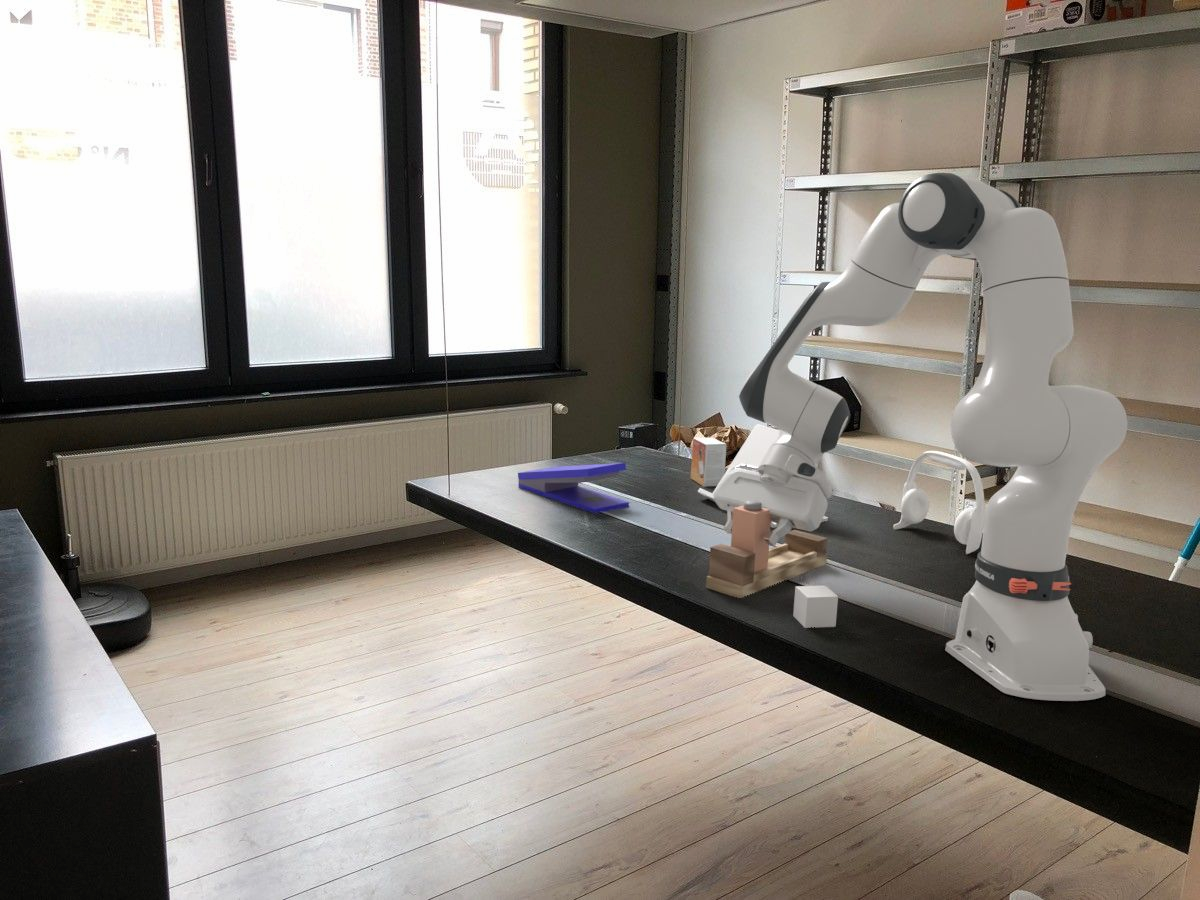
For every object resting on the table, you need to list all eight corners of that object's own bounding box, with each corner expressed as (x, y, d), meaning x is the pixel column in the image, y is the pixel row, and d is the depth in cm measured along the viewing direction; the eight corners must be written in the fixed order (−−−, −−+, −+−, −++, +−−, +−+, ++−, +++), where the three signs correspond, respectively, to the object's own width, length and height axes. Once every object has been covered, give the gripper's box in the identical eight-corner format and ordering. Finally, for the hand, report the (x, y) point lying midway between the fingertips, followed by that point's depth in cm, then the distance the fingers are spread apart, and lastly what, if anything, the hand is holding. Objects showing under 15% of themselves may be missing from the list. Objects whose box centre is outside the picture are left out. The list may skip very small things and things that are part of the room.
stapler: (592, 515, 207) (593, 470, 205) (514, 488, 228) (515, 447, 226) (631, 507, 215) (633, 463, 213) (553, 481, 235) (554, 442, 233)
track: (793, 554, 183) (796, 519, 182) (826, 563, 179) (829, 527, 177) (705, 587, 164) (708, 547, 163) (739, 598, 159) (742, 557, 158)
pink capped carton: (745, 564, 170) (749, 497, 167) (767, 571, 166) (772, 503, 164) (729, 570, 166) (733, 502, 164) (751, 577, 163) (756, 508, 161)
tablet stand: (760, 493, 229) (765, 422, 226) (829, 521, 207) (836, 443, 204) (695, 500, 221) (699, 427, 218) (759, 530, 200) (765, 449, 196)
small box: (690, 479, 241) (692, 437, 239) (711, 478, 242) (713, 436, 240) (703, 487, 233) (705, 444, 231) (724, 486, 235) (726, 443, 233)
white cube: (822, 615, 154) (825, 585, 153) (835, 627, 149) (838, 596, 148) (792, 616, 153) (795, 586, 152) (804, 628, 148) (807, 597, 147)
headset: (989, 553, 189) (1000, 463, 185) (961, 556, 186) (972, 465, 182) (916, 525, 206) (925, 443, 203) (890, 528, 203) (898, 444, 200)
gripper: (729, 452, 174) (692, 514, 170) (829, 472, 161) (793, 540, 156) (742, 472, 179) (706, 533, 174) (841, 494, 165) (805, 561, 160)
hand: (748, 537), depth 165 cm, fingers open, 7 cm apart
